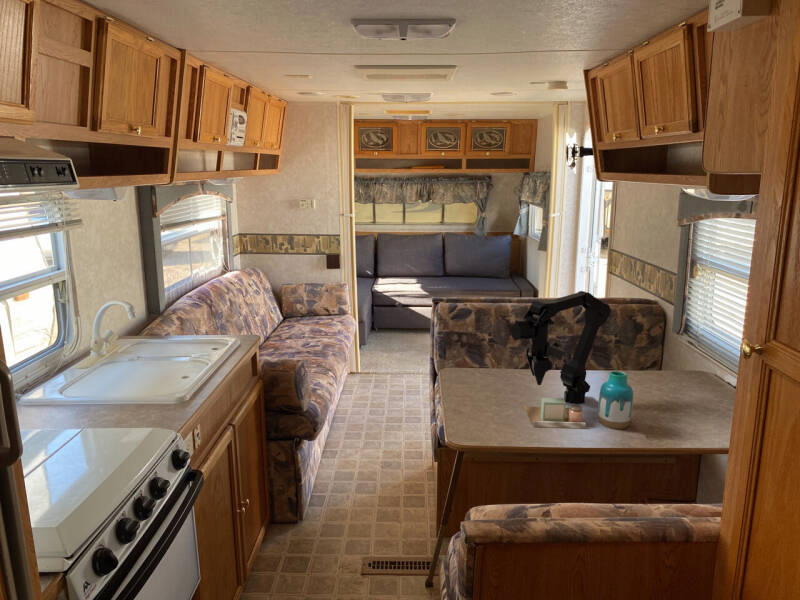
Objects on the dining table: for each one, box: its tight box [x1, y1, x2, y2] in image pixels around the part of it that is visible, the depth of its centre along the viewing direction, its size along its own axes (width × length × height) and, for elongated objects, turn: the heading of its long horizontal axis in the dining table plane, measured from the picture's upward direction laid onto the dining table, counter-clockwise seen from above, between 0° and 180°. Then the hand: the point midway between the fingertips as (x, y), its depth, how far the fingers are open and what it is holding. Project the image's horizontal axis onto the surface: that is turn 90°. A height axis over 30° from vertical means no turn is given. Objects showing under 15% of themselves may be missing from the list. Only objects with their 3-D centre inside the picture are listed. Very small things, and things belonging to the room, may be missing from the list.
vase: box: [597, 370, 634, 430], centre depth 191 cm, size 11×11×19 cm
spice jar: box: [568, 404, 584, 422], centre depth 192 cm, size 4×4×6 cm
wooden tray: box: [523, 406, 587, 430], centre depth 198 cm, size 17×17×3 cm
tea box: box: [540, 397, 566, 422], centre depth 194 cm, size 7×4×7 cm, turn 88°
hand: (536, 380), depth 202 cm, fingers open, 9 cm apart
